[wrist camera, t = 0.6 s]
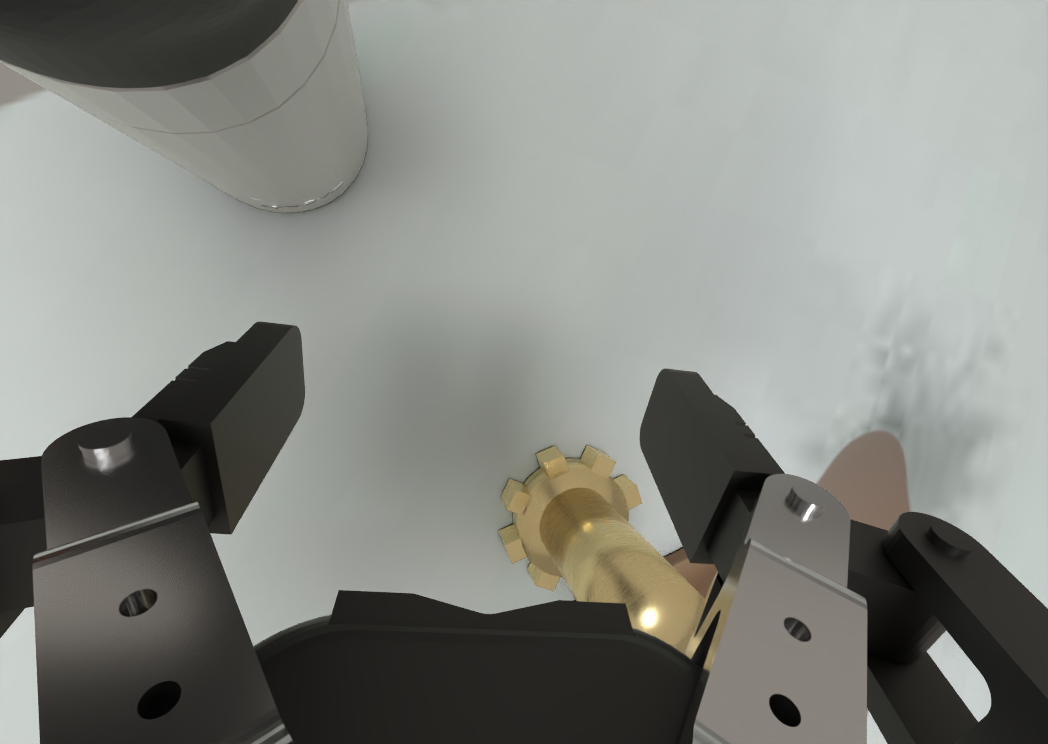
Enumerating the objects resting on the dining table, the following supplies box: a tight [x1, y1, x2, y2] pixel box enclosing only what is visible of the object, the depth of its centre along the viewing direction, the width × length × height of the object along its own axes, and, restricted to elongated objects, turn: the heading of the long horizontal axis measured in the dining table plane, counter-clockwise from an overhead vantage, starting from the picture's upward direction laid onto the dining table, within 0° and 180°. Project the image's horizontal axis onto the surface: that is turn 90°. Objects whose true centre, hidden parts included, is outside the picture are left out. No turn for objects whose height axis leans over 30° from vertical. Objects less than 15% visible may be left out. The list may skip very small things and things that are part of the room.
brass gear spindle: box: [499, 446, 705, 654], centre depth 28 cm, size 10×10×13 cm
